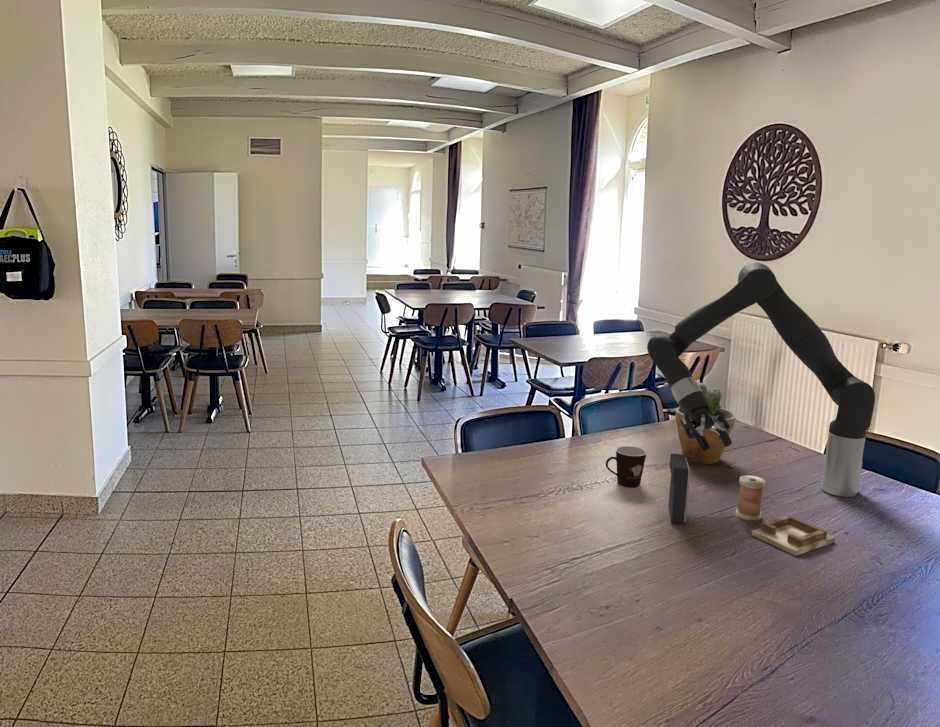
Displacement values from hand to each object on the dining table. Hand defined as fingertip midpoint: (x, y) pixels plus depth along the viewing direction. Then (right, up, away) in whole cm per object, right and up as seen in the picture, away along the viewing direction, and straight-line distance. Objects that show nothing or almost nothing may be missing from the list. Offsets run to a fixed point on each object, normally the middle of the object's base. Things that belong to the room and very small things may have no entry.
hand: (718, 447), depth 188 cm
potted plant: (+7, -8, +37) cm, 38 cm away
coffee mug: (-23, -12, +13) cm, 29 cm away
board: (+11, -20, -19) cm, 30 cm away
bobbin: (+5, -17, -7) cm, 19 cm away
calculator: (-14, -17, -7) cm, 23 cm away
